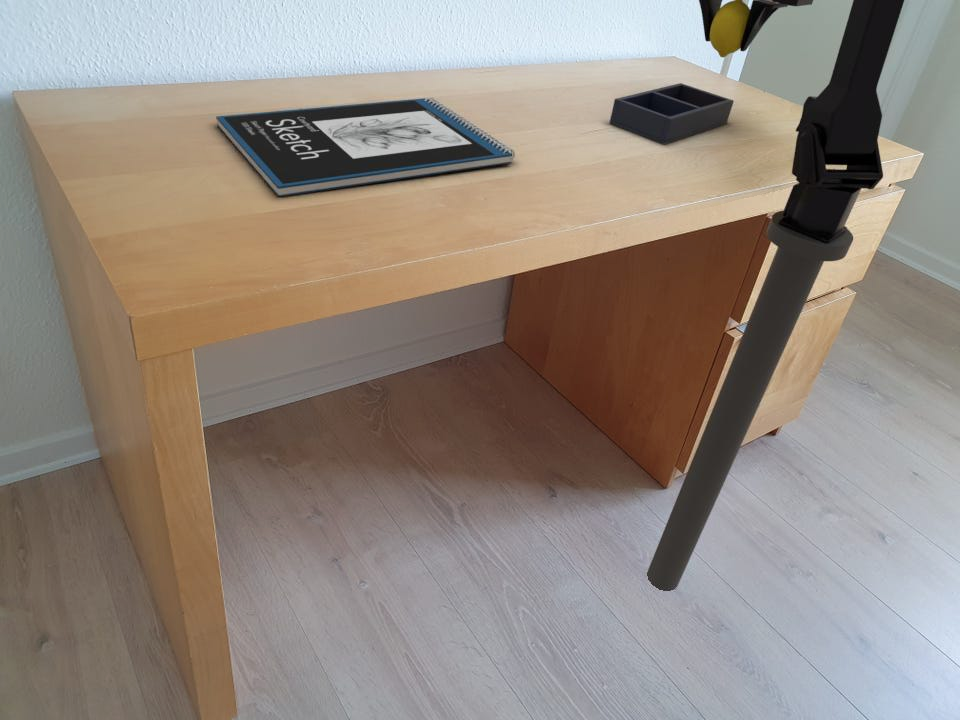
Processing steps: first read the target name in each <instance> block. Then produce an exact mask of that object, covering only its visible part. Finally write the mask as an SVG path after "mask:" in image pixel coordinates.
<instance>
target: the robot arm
mask: <svg viewBox="0 0 960 720" xmlns="http://www.w3.org/2000/svg"><path fill="white" fill-rule="evenodd" d="M698 3H699V6H700V11H701V18H702V26H703V33H704V34H703V35H704V39H705V40H704V41H705V42H706V43H707V42H708V43H709V42H711V41H710V29H711V25H712V22H713V20H714V17H715V15H716V14H717V12H718V11H719V9H720V8H721V7H722V3H723V0H698ZM813 3H814V0H752V2H751V6H750V8H749V9H750V12H749V16H748V20H747V23H746V27H745V30H744V34H743V38H742V42H741V48H740V49H739V51H740V52H746V51H747V50H748V48H749V47H750V45H751V44H752V42H753V41H754V39H756V36H757V35H758V33H759V32H760V31H761V29H762V28H763V26H764V25H765V23H767V21H768V20H769V19H770V18H771V16H772V15H773V14H774V13H775V12H777V11H778V10H779V9H780V8H788V6H790V7H803V6H812V5H813ZM904 3H905V0H852V3H851V8H850V11H849V14H848V18H847V22H846V25H845V27H844V32H843V35H842V39H841V42H840V46H839V48H838V53H837V56H836V59H835V62H834V65H833V70H832V73H831V77H830V80H829V81H828V85H826V87H825V88H824V89H823V90H822V91H821V92H820V93H819V94H818V95H817V96H812V95H810V96H808V97H806V99H805V101H804V102H803V105H802V112H801V117H800V120H799V123H798V125H797V127H796V128H795V132H796V133H797V137H796V139H795V140H796V141H795V148H794V154H793V161H792V162H793V163H792V168H791V174H792V175H793V176H794V177H796V178H795V181H796V182H797V183H796V184H793V186H792V188H791V191H790V193H789V196H788V198H787V201H786V203H785V206H784V208H783V210H784V211H783V210H782V211H783V213H782V214H783V216H785V217H784V218H782V219H780V220H779V223H778V224H779V225H781V226H784V227H786V228H789V229H791V230H794V231H796V232H798V233H801V234H803V235H806V236H808V237H811V238H813V239H815V240H818V241H820V242H823V243H826V244H828V243H830V242H831V241H833V240H834V239H836V238H837V237H839V236H840V235H842V234H843V233H845V232H846V230H847V229H848V227H847V226H846V224H847V221H848V219H849V217H850V215H851V212H852V211H853V208H854V206H855V204H856V201H857V199H858V197H859V196H860V193H861V191H862V189H867V190H874V189H875V188H876V187H877V185H878V184H880V182H881V181H882V179H883V178H884V172H883V165H882V159H881V154H880V148H879V141H878V139H879V134H880V129H881V124H882V121H883V111H882V108H881V103H880V99H879V95H878V92H877V90H878V85H879V81H880V78H881V75H882V73H883V69H884V66H885V63H886V60H887V56H888V54H889V51H890V47H891V44H892V41H893V37H894V35H895V33H896V32H895V31H896V28H897V25H898V23H899V19H900V16H901V13H902V10H903V7H904ZM827 166H846V168H845V169H843V168H841V169H839V168H827Z"/></svg>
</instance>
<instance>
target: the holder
mask: <svg viewBox="0 0 960 720" xmlns="http://www.w3.org/2000/svg"><path fill="white" fill-rule="evenodd" d="M734 102H735V100H733V99H731V98H728V97H725V96H723V95H722V96H721V95H718V94H715V93H712V92H710V91H706V90H703V89H700V88H696V87H694V86H691V85H687V84H684V83H681V82H680V83H675V84H671V85H666V86H662V87H659V88H654V89H651V90H647V91H642V92H638V93H634V94H630V95H626V96H622V97H617V98H615V99H614V102H613V106H612V110H611V115H610V119H609V124H610V125H611V126H614V127H616V128H620V129H623V130H625V131H628V132H630V133H634V134H635V135H638V136H641V137H643V138H646V139H649V140H652V141H654V142H657V143H659V144H661V145H668V144H670V143H673V142H676V141H679V140H683V139H686V138H689V137H691V136H694V135H697V134H700V133H704V132H706V131H710V130H712V129H715V128H718V127H721V126H724V125H727V124H728V121H729V118H730V114H731V111H732V109H733V105H734Z"/></svg>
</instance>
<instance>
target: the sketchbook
mask: <svg viewBox="0 0 960 720" xmlns="http://www.w3.org/2000/svg"><path fill="white" fill-rule="evenodd" d="M215 118H216V119H215V120H216V126H217V127H218V128H219V129H220V131H221V132H222V133H223V134H224V135H225V136H226V137H227V139H228V140H229V141H230V142H231V143H232V144H233V146H234V147H235V148H236V149H237V150H238V151H239V153H240V154H241V155H242V156H243V157H244V158H245V160H246V161H247V162H248V163H249V164H250V166H251V167H252V168H253V169H254V170H255V171H256V172H257V173H258V174H259V176H260V177H261V178H262V180H263V181H264V182H265V183H266V184H267V185H268V186H269V187H270V189H271V190H272V191H273V192H274V193H275V195H277V197H278V198H280V197H281V198H282V197H288V196H295V195H301V194H307V193H315V192H322V191H328V190H336V189H342V188H349V187H356V186H363V185H371V184H377V183H383V182H384V183H385V182H390V181H398V180H405V179H411V178H419V177H425V176H432V175H438V174H446V173H452V172H458V171H459V172H460V171H465V170H467V171H468V170H472V169H479V168H480V169H481V168H487V167H493V166H501V165H508V164H512V162H513V161H514V159H515V157H516V151H515V150H514V149H513V147H510V146H508V145H507V144H506V143H504V142H503V141H501V140H499V139H498V138H496V137H494V136H493V135H492V134H490V133H488V132H487V131H485V130H484V129H482V128H481V127H479V126H478V125H476V124H474V123H473V122H472V121H470V120H468V119H467V118H465V117H463V116H462V115H461V114H459V113H457V112H456V111H454V110H453V109H451V108H450V107H448V106H447V105H445V104H444V103H442V102H441V101H439V100H437V99H435V98H434V97H432V96H427V97H424V98H413V99H412V98H411V99H400V100H391V101H390V100H389V101H377V102H367V103H356V104H355V103H354V104H343V105H332V106H321V107H320V106H319V107H307V108H296V109H287V110H285V109H284V110H273V111H262V112H261V111H260V112H251V113H250V112H249V113H239V114H231V115H229V114H228V115H217V116H215Z"/></svg>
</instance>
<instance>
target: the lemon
mask: <svg viewBox="0 0 960 720" xmlns="http://www.w3.org/2000/svg"><path fill="white" fill-rule="evenodd" d="M750 9H751V8H750V7H749V6H748V4H746V3H745V2H744V1H743V0H731V1H728V2H726V3H724V4H723V5H721V7H720V9H719V11H718V12H717V14H716V15H715V17H714V20H713V22H712V25H711V29H710V41H709V42H710V44H711V46H712V48H713V49H714V50H715V51H716V52H717V53H718V55H719V57H720V58H726V57H727V56H728V55H730V54H733V53H736V52H737V51H740V48H741V42H742V38H743V34H744V30H745V27H746V23H747V20H748V16H749V12H750Z"/></svg>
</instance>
